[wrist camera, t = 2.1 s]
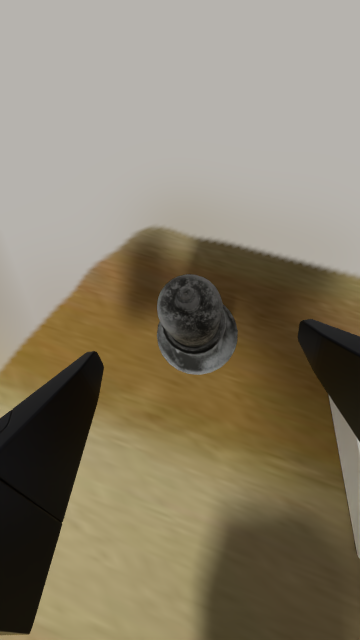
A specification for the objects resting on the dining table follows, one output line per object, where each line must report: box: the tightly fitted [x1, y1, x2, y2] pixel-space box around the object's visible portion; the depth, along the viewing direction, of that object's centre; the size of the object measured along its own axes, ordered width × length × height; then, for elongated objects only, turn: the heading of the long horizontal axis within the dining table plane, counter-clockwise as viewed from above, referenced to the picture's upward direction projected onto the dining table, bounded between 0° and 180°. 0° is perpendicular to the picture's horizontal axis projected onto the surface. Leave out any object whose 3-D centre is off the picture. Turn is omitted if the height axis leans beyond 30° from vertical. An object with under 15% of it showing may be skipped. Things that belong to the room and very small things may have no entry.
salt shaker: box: [157, 274, 238, 375], centre depth 13 cm, size 6×6×12 cm
